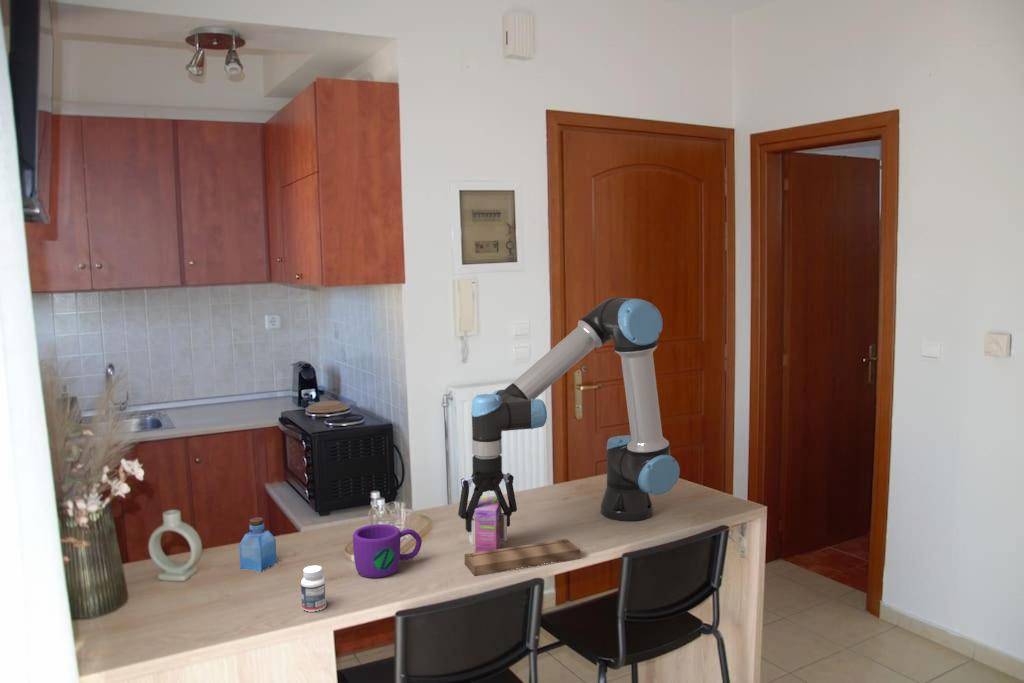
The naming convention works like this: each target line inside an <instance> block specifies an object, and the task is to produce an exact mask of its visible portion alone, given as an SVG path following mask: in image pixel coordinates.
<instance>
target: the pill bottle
mask: <svg viewBox="0 0 1024 683" xmlns="http://www.w3.org/2000/svg"><path fill="white" fill-rule="evenodd" d="M302 573H303V574H302V575H303V577H302V579H301V580H300V590H301V591H300V592H301V594H300V595H301V609H302V610H303V611H304V610H305V611H304V612H306V611H308V612H307V613H316V612H315V611H317V612H320V611H323V610H324V609H325V608H326V607H327V593H326V591H327V590H326V578H325V577H324V576H323V568H322V566H321V565H316V564H315V565H309V566H305V567H304V568H303V572H302ZM319 610H320V611H319Z"/></svg>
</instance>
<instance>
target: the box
mask: <svg viewBox="0 0 1024 683" xmlns="http://www.w3.org/2000/svg"><path fill="white" fill-rule="evenodd" d="M500 513H502V507H501V505H500V502H499V501H498V499H497V497H480V500H479V502H478V505H477V507H476V509H475V512H474V520H475V545H474V553H476V552H483V551H489V550H496V549H500V546H501V543H502V541H503V539H502V538H501V521H500Z"/></svg>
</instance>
